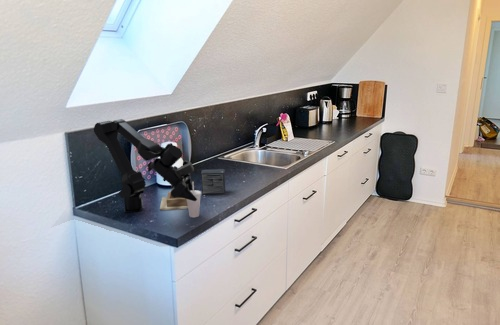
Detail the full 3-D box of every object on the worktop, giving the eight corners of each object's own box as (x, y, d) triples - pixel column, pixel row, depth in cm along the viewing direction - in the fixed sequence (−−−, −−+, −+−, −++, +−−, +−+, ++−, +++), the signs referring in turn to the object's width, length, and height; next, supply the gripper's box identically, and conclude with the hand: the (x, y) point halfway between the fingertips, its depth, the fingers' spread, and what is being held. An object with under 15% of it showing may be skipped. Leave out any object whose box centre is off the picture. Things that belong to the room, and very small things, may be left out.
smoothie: (203, 212, 164) (202, 179, 161) (201, 218, 158) (199, 184, 155) (187, 212, 165) (185, 179, 161) (184, 218, 158) (182, 184, 155)
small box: (225, 190, 192) (224, 168, 189) (225, 194, 185) (224, 172, 183) (203, 190, 191) (202, 169, 189) (201, 195, 185) (200, 173, 182)
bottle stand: (159, 210, 167) (159, 201, 166) (162, 198, 181) (161, 190, 180) (199, 208, 169) (198, 199, 168) (198, 196, 183) (198, 188, 182)
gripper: (177, 162, 146) (209, 191, 149) (183, 150, 164) (212, 176, 167) (157, 184, 148) (189, 211, 151) (165, 170, 166) (193, 194, 169)
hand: (196, 197), depth 159 cm, fingers closed on smoothie, 6 cm apart
